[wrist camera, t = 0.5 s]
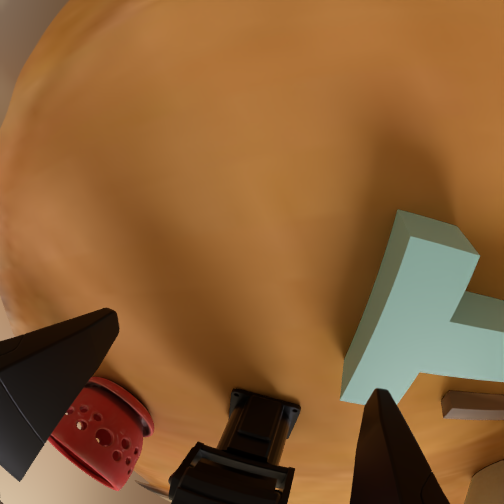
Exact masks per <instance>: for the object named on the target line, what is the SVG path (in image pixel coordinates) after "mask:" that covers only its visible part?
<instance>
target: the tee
mask: <svg viewBox="0 0 504 504" xmlns="http://www.w3.org/2000/svg"><path fill="white" fill-rule="evenodd" d="M479 257H480V255H479V254H478V252H477V251H476V250H475V248H474V247H473V246H472V244H471V243H470V242H469V241H468V239H467V238H466V237H465V236H464V234H463V233H462V232H461V231H460V229H459V228H458V227H457V226H455V225H451V224H448V223H445V222H442V221H438V220H435V219H431V218H428V217H424V216H421V215H417V214H414V213H410V212H406V211H403V210H399V209H398V210H397V213H396V217H395V221H394V224H393V228H392V231H391V234H390V238H389V241H388V244H387V247H386V251H385V254H384V257H383V260H382V263H381V266H380V269H379V272H378V275H377V278H376V281H375V283H374V286H373V289H372V292H371V294H370V297H369V300H368V303H367V305H366V308H365V310H364V313H363V316H362V318H361V321H360V323H359V326H358V328H357V331H356V333H355V335H354V338H353V340H352V343H351V345H350V347H349V350H348V352H347V354H346V357H345V359H344V366H343V376H342V385H341V394H340V401H346V402H351V403H357V404H362V405H365V404H366V402H367V401H368V399H369V397H370V396H371V394H372V393H373V391H374V390H375V389H376V388H382V389H387V390H388V391H389V392H390V394H391V396H392V397H393V399H394V401H395V403H396V405H397V404H398V402H399V401H400V400H401V398H402V397H403V395H404V394H405V393H406V391H407V390H408V388H409V387H410V385H411V384H412V383H413V381H414V380H415V378H416V377H417V375H418V374H419V372H422V373H429V374H436V375H443V376H450V377H458V378H467V379H476V380H486V381H496V382H504V300H500V299H496V298H492V297H488V296H484V295H480V294H476V293H472V292H468V291H465V290H466V287H467V285H468V283H469V281H470V279H471V276H472V274H473V272H474V269H475V267H476V265H477V262H478V260H479Z"/></svg>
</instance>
